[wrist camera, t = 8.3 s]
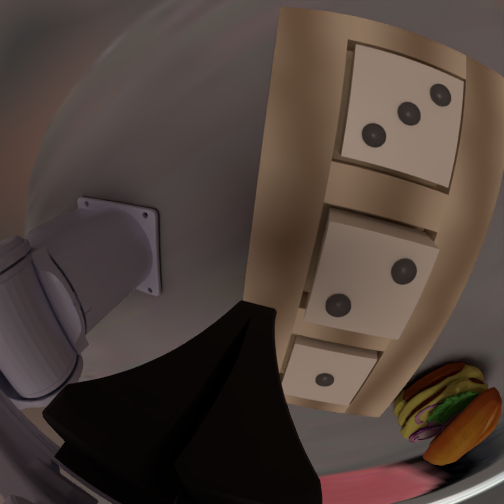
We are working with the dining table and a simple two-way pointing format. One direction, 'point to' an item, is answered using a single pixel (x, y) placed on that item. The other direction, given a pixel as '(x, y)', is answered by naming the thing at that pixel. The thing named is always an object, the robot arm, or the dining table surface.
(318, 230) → the tile board
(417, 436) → the cheeseburger
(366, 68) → the three dot tile
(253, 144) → the dining table surface
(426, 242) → the two dot tile
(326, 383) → the one dot tile
